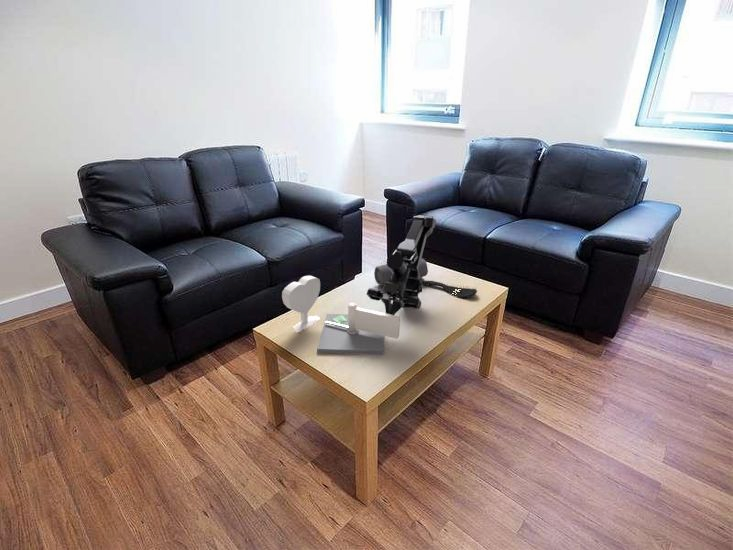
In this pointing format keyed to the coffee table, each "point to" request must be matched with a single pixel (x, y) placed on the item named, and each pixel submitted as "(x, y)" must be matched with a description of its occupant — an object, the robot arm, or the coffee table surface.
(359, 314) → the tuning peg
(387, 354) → the coffee table surface
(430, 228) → the robot arm
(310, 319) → the heart sculpture
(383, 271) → the bluetooth speaker
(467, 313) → the coffee table surface
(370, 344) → the grey flat panel
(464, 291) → the hairbrush
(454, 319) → the coffee table surface
